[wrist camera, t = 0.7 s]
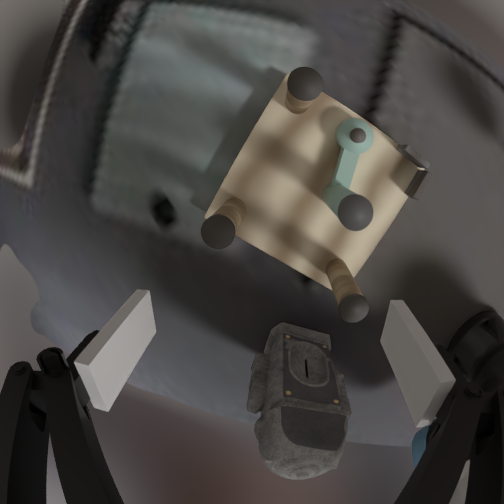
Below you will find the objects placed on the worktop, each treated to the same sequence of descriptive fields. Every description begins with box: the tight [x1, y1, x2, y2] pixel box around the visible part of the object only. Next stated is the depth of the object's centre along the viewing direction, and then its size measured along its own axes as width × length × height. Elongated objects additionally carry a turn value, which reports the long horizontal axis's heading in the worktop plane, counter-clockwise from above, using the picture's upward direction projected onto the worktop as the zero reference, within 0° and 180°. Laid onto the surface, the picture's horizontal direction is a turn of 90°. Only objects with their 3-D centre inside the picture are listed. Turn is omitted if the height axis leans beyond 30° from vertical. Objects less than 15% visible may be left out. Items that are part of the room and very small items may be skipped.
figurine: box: [247, 322, 352, 479], centre depth 36 cm, size 10×14×25 cm
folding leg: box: [323, 118, 374, 231], centre depth 30 cm, size 12×4×11 cm, turn 166°
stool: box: [201, 67, 432, 323], centre depth 32 cm, size 22×22×14 cm
